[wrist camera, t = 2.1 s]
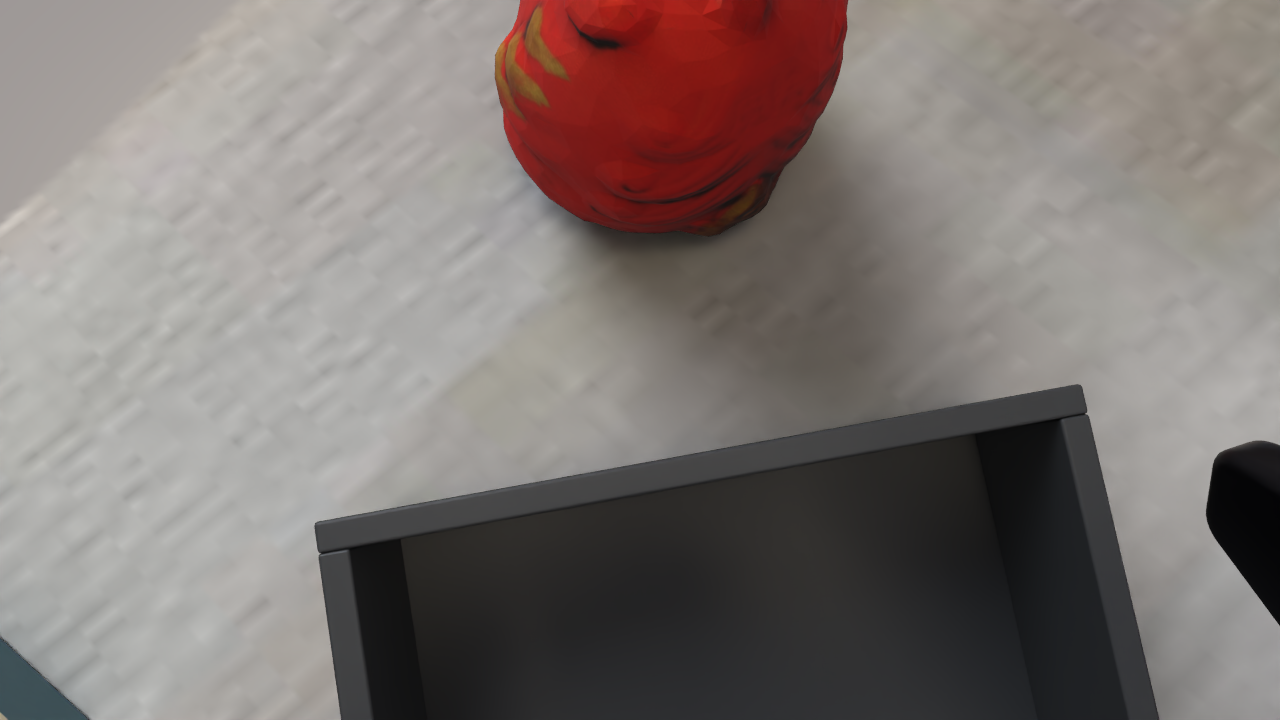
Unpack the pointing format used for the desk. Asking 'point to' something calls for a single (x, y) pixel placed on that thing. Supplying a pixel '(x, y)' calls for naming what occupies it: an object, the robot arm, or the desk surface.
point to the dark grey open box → (758, 584)
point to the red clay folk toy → (666, 103)
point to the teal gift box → (29, 692)
